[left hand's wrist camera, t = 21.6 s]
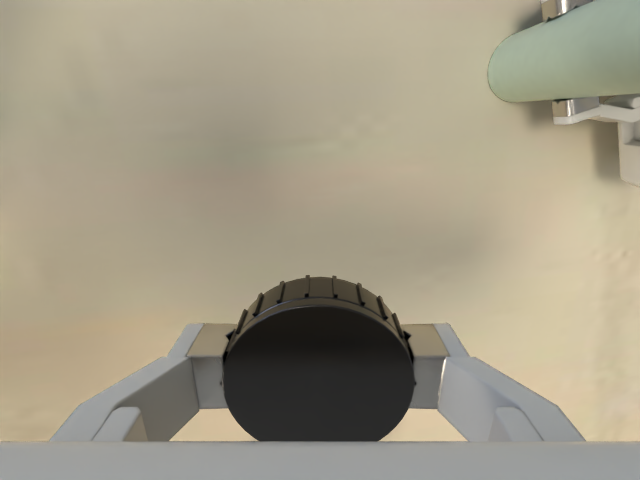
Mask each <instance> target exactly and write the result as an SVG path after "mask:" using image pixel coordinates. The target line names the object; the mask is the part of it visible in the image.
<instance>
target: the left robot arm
mask: <svg viewBox="0 0 640 480" xmlns="http://www.w3.org/2000/svg"><path fill="white" fill-rule="evenodd" d="M400 325H401V328H402V331H403V333H404V336H405V337H404V338H406V340H407V348H408V351H409V353H410V358H411V361H412V364H413V368H414V376H415V385H414V393H413V397H412V401H411V403H410V406H409V408H417V409H438V410H437V411H438V412H439V413H441V414H442V415H443V416H444V417H445V418H446V419H447V420H448V421H449V422H450V423H451V424H452V425H453V426H454V427H455V428H456V429H457V430H458V431H459V432H460V433H461V434H462V435H463V436H464V437H465V438H466V439H467V440H468V441H457V442H332V441H169V440H170V439H171V438H172V437H173V436H174V435H175V434H176V433H177V432H178V431H179V430H180V429H181V428H182V427H183V426H184V425H185V424H186V423H187V422H188V421H189V420H190V419H191V418H192V417H193V416H194V415H195V414H196V413H197V412H198V411H199V409H219V408H228V406H227V404H226V401H225V398H224V394H223V388H222V373H223V366H224V363H225V360H226V357H227V355H226V349H227V347H228V345H229V342H230V339H231V337H232V334H233V332H234V329H236V328H237V324H213V323H206V324H205V323H190V324H188V325H186V327H185V328H184V330H183V332H182V333H181V335H180V336H179V338H178V339H177V341H176V343H175V344H174V346H173V347H172V349H171V350H170V352H169V354H168V355H167V357H160V358H159V359H157V360H155V361H154V362H152V363H150V364H149V365H147V366H145V367H143V368H142V369H140V370H138V371H137V372H135V373H133V374H131V375H130V376H128V377H126V378H125V379H123V380H121V381H119V382H118V383H116V384H114V385H113V386H111V387H109V388H107V389H106V390H104V391H102V392H101V393H99V394H97V395H96V396H94V397H92V398H90V399H89V400H87V401H85V402H84V403H82V404H80V405H79V406H78V407H77V408H76V409H75V410H74V412H73V413H72V414H71V415H70V416H69V418H68V419H67V420H66V421H65V422H64V424H63V425H62V426H61V427H60V428H59V430H58V431H57V432H56V433H55V434H54V436H53V437H52V438H51V439H50V440H49V441H0V480H640V441H586V440H585V439H584V438H583V436H582V435H581V434H580V433H579V431H578V430H577V429H576V428H575V427H574V425H573V424H572V423H571V422H570V420H569V419H568V418H567V417H566V415H565V414H564V413H563V412H562V411H561V409H560V408H559V407H558V406H557V405H555V404H554V403H552V402H550V401H549V400H547V399H545V398H544V397H542V396H540V395H538V394H537V393H535V392H533V391H532V390H530V389H528V388H527V387H525V386H523V385H522V384H520V383H518V382H517V381H515V380H513V379H511V378H510V377H508V376H506V375H505V374H503V373H501V372H500V371H498V370H496V369H495V368H493V367H491V366H490V365H488V364H486V363H484V362H483V361H481V360H479V359H478V358H476V357H470V356H469V354H468V353H467V351H466V349H465V348H464V346H463V345H462V343H461V342H460V340H459V338H458V337H457V335H456V334H455V332H454V330H453V329H452V327H451V326H450V324H448V323H434V324H400Z"/></svg>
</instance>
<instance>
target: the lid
mask: <svg viewBox="0 0 640 480" xmlns="http://www.w3.org/2000/svg"><path fill="white" fill-rule="evenodd" d="M404 337H405V336H404V333H403V331H402V328H401V325H400V323H399V320H398V318H397V315H396V313H393V314H392V313H391V311H390V310H389V308H388V307H387V306H386V305H385V304H384V302H383V299H382V297H381V296H378V297H377V296H375V295H374V294H372V293H371V292H369V291H368V290H366V289H364V288H362V285H361V284H360V283H357V285H356V284H354V283H351V282H348V281H345V280H340V279H337V278H336V276H332V278H328V277H310V275H306V278H301V279H296V280H293V281H289V282H286V283H285V282H284V281H282V282H280V285H279V286H276V287H274V288H273V289H271V290H269V291H267V292H266V293H264V294H262V293H260V294H259V295H258V298H257V300H256V301H255V302H254V303H253V304H252V305H251V306H250V307H249V309H248V310H245V309H244V311H243V312H242V315H241V317H240V320H239V322H238V325H237V328H236V329H234V332H233V334H232V337H231V339H230V342H229V345H228V347H227V349H226V355H227V357H226V360H225V363H224V366H223V373H222V388H223V394H224V398H225V401H226V404H227V406H228V408H229V410H230V412H231V414H232V415H233V417H234V418H235V420H236V421H237V422H238V424H239V425H240V426H241V427H242V428H243V429H244V430H245V431H246V432H248V433H249V434H250V435H251V436H252V437H254V438H255V439H257V440H258V441H332V442H377V441H379V440H381V439H382V438H383V437H385V436H386V435H387V434H389V433H390V432H391V431H392V430H393V429H394V428H395V427H396V426H397V425H398V423H399V422H400V421H401V420H402V418H403V417H404V415H405V414H406V412H407V410H408V408H409V406H410V403H411V401H412V397H413V393H414V385H415V376H414V368H413V364H412V361H411V358H410V353H409V351H408V348H407V340H406V338H404Z"/></svg>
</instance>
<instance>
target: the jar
mask: <svg viewBox="0 0 640 480" xmlns="http://www.w3.org/2000/svg"><path fill="white" fill-rule="evenodd" d="M488 81H489V84H490V87H491V89H492V91H493V92H494V94H495V95H496V96H497V97H499V98H500V99H502V100H504V101H507V102H526V101H540V100H554V99H568V98H582V97H597V96H611V95H625V94H639V93H640V0H595V1H593V2H590V3H588V4H585V5H583V6H581V7H578V8H576V9H573V10H571V11H569V12H567V13H565V14H563V15H560V16H557V17H555V18H553V19H550V20H548V21H545V22H542V23H539V24H537V25H535V26H532V27H530V28H527V29H525V30H523V31H520V32H518V33H515V34H513V35H511V36H509V37H508V38H506V39H505V40H504V41H503V42H502V43H501V44H500V45H499V46H498V47H497V48H496V50H495V51H494V53H493V55H492V57H491V60H490V63H489V67H488Z"/></svg>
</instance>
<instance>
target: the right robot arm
mask: <svg viewBox="0 0 640 480" xmlns="http://www.w3.org/2000/svg"><path fill="white" fill-rule="evenodd" d="M540 1H541V9H542V18H543V22H545V21H548V20H550V19H553V18H555V17H557V16H560V15H563V14H565V13H567V12H569V11H571V10H573V9H576V8H578V7H581V6H583V5H585V4H588V3H590V2H593V0H540ZM552 112H553V121H554V125H568V124H574V123H578V122H580V121H583V120H586V119H593V120H597V121H602V122H618V140H619V162H620V177H621V179H622V180H623V181H625V182H627V183H629V184H632V185H634V186H637V187H640V93H639V94H625V95H616V96H615V97H613V98H610V99H607V100H605V101H604V104H600V103H599V96H597V97H582V98H568V99H555V100H553V101H552Z"/></svg>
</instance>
